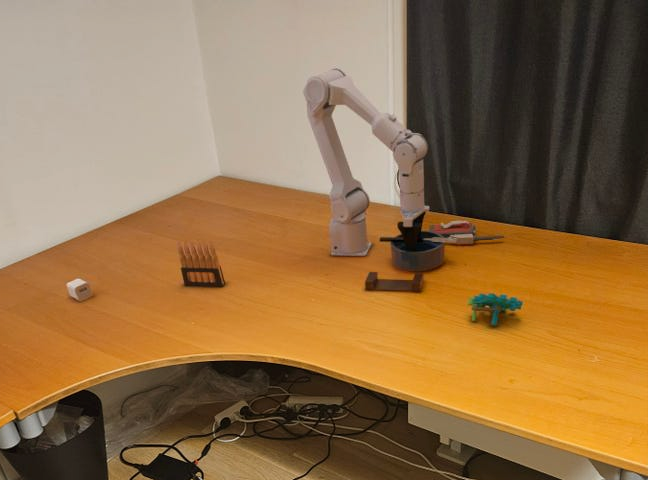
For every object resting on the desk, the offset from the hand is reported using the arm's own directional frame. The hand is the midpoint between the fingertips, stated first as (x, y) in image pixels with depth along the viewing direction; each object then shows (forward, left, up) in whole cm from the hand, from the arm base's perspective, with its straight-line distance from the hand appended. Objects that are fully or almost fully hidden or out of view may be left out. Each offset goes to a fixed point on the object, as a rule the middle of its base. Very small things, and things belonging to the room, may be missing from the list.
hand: (413, 243), depth 153 cm
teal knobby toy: (+21, -26, -5) cm, 34 cm away
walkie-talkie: (+11, +14, -5) cm, 19 cm away
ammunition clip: (-51, -16, -5) cm, 54 cm away
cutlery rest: (-2, -14, -5) cm, 15 cm away
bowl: (+1, 0, -5) cm, 5 cm away
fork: (+2, 0, 0) cm, 2 cm away
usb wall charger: (-83, -24, -5) cm, 87 cm away
